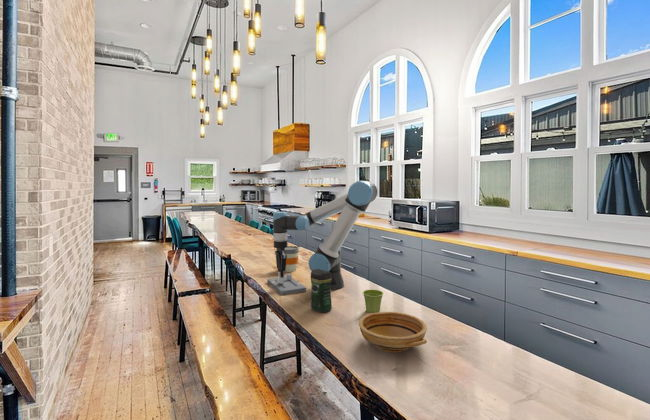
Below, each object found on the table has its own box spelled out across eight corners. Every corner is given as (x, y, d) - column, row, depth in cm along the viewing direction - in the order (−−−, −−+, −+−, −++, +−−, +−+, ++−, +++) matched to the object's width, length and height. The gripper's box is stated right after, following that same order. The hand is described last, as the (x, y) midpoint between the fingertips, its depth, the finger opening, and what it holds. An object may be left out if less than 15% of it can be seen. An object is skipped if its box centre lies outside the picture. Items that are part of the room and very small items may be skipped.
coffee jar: (334, 310, 165) (334, 270, 164) (321, 314, 160) (321, 273, 158) (321, 304, 173) (320, 266, 171) (308, 308, 167) (307, 269, 166)
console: (306, 291, 193) (306, 287, 193) (281, 295, 187) (281, 291, 187) (289, 279, 217) (289, 275, 217) (267, 282, 211) (267, 278, 211)
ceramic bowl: (341, 338, 136) (341, 317, 136) (389, 323, 149) (389, 305, 148) (395, 373, 111) (395, 348, 111) (447, 352, 124) (448, 330, 123)
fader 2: (291, 279, 208) (291, 274, 207) (286, 280, 206) (286, 274, 206) (290, 278, 209) (290, 273, 209) (285, 279, 208) (285, 273, 208)
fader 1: (283, 283, 199) (283, 278, 199) (278, 284, 198) (278, 278, 198) (282, 283, 201) (282, 277, 201) (277, 283, 200) (277, 277, 200)
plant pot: (385, 309, 166) (386, 290, 165) (380, 316, 157) (380, 297, 156) (366, 306, 170) (366, 288, 169) (359, 313, 161) (359, 294, 160)
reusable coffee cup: (298, 272, 232) (297, 249, 231) (278, 272, 232) (278, 249, 231) (299, 267, 244) (299, 246, 243) (281, 268, 245) (280, 246, 243)
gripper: (270, 239, 200) (271, 280, 202) (277, 242, 188) (278, 286, 190) (283, 238, 203) (283, 278, 205) (291, 241, 192) (291, 284, 194)
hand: (281, 282), depth 198 cm, fingers closed
